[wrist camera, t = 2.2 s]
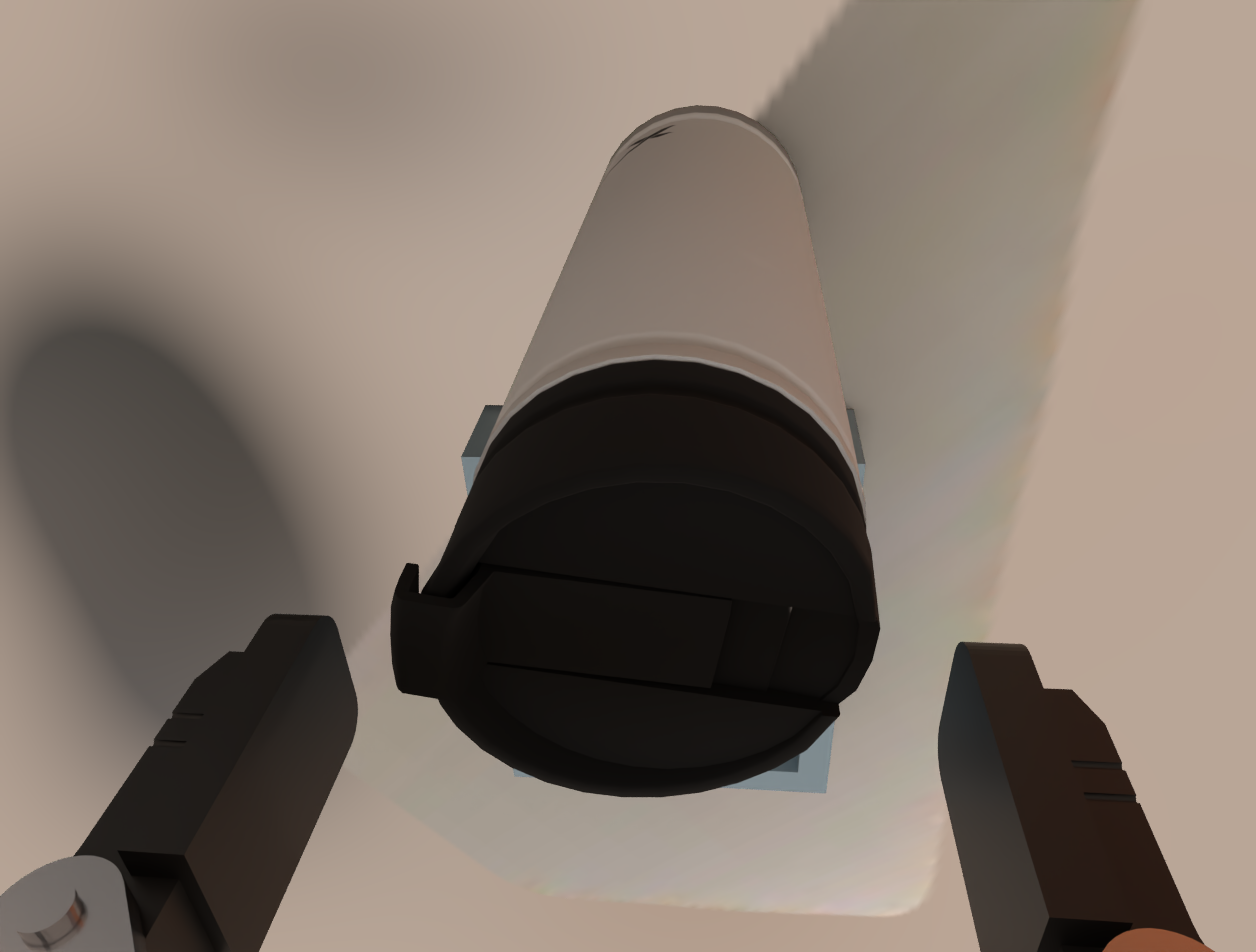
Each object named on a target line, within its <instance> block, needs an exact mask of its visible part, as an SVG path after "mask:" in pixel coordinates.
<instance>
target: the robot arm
mask: <svg viewBox="0 0 1256 952" xmlns="http://www.w3.org/2000/svg"><path fill="white" fill-rule="evenodd" d="M172 713H173V716H172V718H171V719H168V720H167V721H166V722H165V724H164V725H163V727H162V728H161V730H160V731H159V733H158V734H157V736H156V737H155V739H154V745H153V746H149V747H148V749H147V750H146V752H145V753H144V755H143V756H142V758H141V759H140V760H139V762H138V763H137V765H136V766H135V768H134V769H133V771H132V772H131V774H130V775H129V777H128V778H127V780H126V781H125V783H124V784H123V786H122V787H121V788H120V790H119V791H118V793H117V794H116V796H115V797H114V799H113V800H112V802H111V803H110V804H109V806H108V807H107V809H106V810H105V812H104V813H103V815H102V816H101V818H100V819H99V821H98V822H97V824H96V825H95V827H94V828H93V829H92V831H91V832H90V834H89V836H88V837H87V838H86V840H85V841H84V843H83V844H82V846H81V847H80V848H79V850H78V851H77V852H76V853H75V855H74V856H73V857H68V858H64V859H60V860H57V861H54V862H52V863H49V864H46V865H44V866H42V867H40V868H39V869H36V870H34V871H33V872H31V873H29V874H28V875H26V876H25V877H23V878H21V879H20V880H19V881H17V882H16V883H15V884H14V885H12V886H11V887H10V888H9V889H7V890H6V891H5V892H4V893H3V894H2V895H1V896H0V952H259V950H260V948H261V945H262V943H263V941H264V939H265V936H266V934H267V932H268V930H269V928H270V925H271V923H272V921H273V918H274V916H275V914H276V912H277V910H278V908H279V905H280V903H281V901H282V899H283V896H284V894H285V892H286V889H287V887H288V885H289V883H290V881H291V878H292V876H293V874H294V872H295V870H296V867H297V865H298V863H299V861H300V858H301V856H302V854H303V852H304V849H305V847H306V845H307V843H308V841H309V838H310V836H311V834H312V831H313V829H314V827H315V825H316V823H317V820H318V818H319V816H320V813H321V811H322V809H323V807H324V805H325V803H326V800H327V798H328V796H329V794H330V791H331V789H332V787H333V785H334V782H335V780H336V778H337V775H338V773H339V771H340V769H341V767H342V765H343V762H344V760H345V758H346V756H347V753H348V751H349V749H350V747H351V744H352V742H353V738H354V735H355V731H356V725H357V717H358V704H357V697H356V692H355V689H354V685H353V682H352V678H351V675H350V671H349V668H348V664H347V660H346V657H345V653H344V650H343V646H342V643H341V639H340V636H339V632H338V628H337V626H336V623H335V621H334V620H333V619H332V618H331V617H330V616H322V615H296V614H295V615H294V614H272V615H270V616H269V617H268V618H266V619H265V621H264V622H263V623H262V625H261V626H260V628H259V629H258V631H257V633H256V634H255V636H254V637H253V639H252V641H251V642H250V643H249V645H248V647H247V648H246V650H245V651H244V652H231V651H229V652H228V653H227V654H225V655H224V656H223V657H222V658H220V659H219V660H218V661H217V662H216V663H214V664H213V665H212V666H211V667H209V668H208V669H207V670H206V671H204V672H203V673H202V674H201V675H200V676H199V677H197V678H196V679H195V680H194V681H193V683H192V684H191V686H190V687H189V689H188V690H187V692H186V693H185V694H184V696H183V698H182V699H181V700H180V702H179V704H178V705H177V706H176V708H175V709H174V711H173V712H172ZM938 759H939V769H940V776H941V781H942V785H943V789H944V794H945V798H946V802H947V807H948V811H949V816H950V820H951V824H952V829H953V833H954V837H955V842H956V846H957V850H958V855H959V859H960V864H961V868H962V872H963V877H964V881H965V885H966V890H967V894H968V899H969V902H970V907H971V911H972V916H973V920H974V925H975V929H976V933H977V938H978V942H979V946H980V951H981V952H1215V951H1213V950H1212V949H1210V948H1209V947H1207V946H1206V945H1204V943H1203V942H1202V940H1201V939H1200V937H1199V935H1198V933H1197V931H1196V929H1195V927H1194V926H1193V923H1192V921H1191V919H1190V917H1189V914H1188V912H1187V910H1186V908H1185V905H1184V903H1183V901H1182V899H1181V896H1180V894H1179V892H1178V889H1177V887H1176V885H1175V883H1174V880H1173V878H1172V876H1171V873H1170V871H1169V869H1168V866H1167V864H1166V862H1165V860H1164V858H1163V855H1162V853H1161V851H1160V848H1159V846H1158V844H1157V841H1156V839H1155V837H1154V835H1153V832H1152V830H1151V828H1150V826H1149V823H1148V821H1147V819H1146V816H1145V814H1144V812H1143V810H1142V807H1141V805H1140V803H1137V802H1136V794H1135V791H1134V789H1133V787H1132V785H1131V782H1130V780H1129V778H1128V775H1127V773H1126V771H1124V770H1122V762H1121V759H1120V757H1119V755H1118V753H1117V750H1116V748H1115V746H1114V744H1113V741H1112V739H1111V737H1110V735H1109V732H1108V730H1107V728H1106V725H1105V724H1104V723H1103V721H1101V719H1100V718H1099V717H1098V716H1097V715H1096V714H1095V713H1094V712H1093V711H1092V710H1091V709H1090V708H1089V707H1088V706H1087V705H1086V704H1085V703H1084V702H1083V701H1082V700H1081V699H1080V698H1079V697H1078V695H1077V694H1076V693H1075V692H1074V691H1073V690H1067V689H1044V688H1043V686H1042V683H1041V681H1040V678H1039V675H1038V673H1037V670H1036V668H1035V665H1034V662H1033V660H1032V657H1031V655H1030V652H1029V651H1028V649H1027V647H1026V646H1024V645H1022V644H1003V643H978V642H960V643H959V644H958V645H957V647H956V650H955V653H954V658H953V663H952V668H951V672H950V677H949V682H948V687H947V692H946V696H945V701H944V706H943V711H942V716H941V720H940V726H939V733H938Z"/></svg>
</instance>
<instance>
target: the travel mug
mask: <svg viewBox="0 0 1256 952" xmlns="http://www.w3.org/2000/svg"><path fill="white" fill-rule="evenodd" d="M879 632H880V623H879V614H878V605H877V596H876V588H875V579H874V570H873V561H872V553H871V548H870V544H869V541H868V537H867V534H866V506H865V498H864V493H863V489H862V485H861V482H860V478H859V469H858V464H857V459H856V455H855V450H854V445H853V440H852V435H851V430H850V425H849V420H848V416H847V411H846V406H845V401H844V396H843V391H842V386H841V382H840V377H839V372H838V367H837V362H836V357H835V352H834V348H833V343H832V338H831V333H830V328H829V323H828V318H827V313H826V309H825V304H824V299H823V294H822V289H821V284H820V279H819V275H818V270H817V265H816V260H815V255H814V250H813V245H812V241H811V236H810V231H809V226H808V221H807V216H806V211H805V206H804V203H803V197H802V192H801V188H800V184H799V180H798V176H797V173H796V169H795V167H794V165H793V163H792V161H791V159H790V157H789V156H788V154H787V152H786V150H785V149H784V148H783V146H782V145H781V144H780V143H779V142H778V140H777V139H776V138H775V137H774V135H773V134H771V133H770V132H769V131H768V130H767V129H765V128H764V127H763V126H762V125H760V124H759V123H758V122H756V121H755V120H753V119H751V118H749V117H747V116H745V115H743V114H741V113H739V112H736V111H732V110H728V109H725V108H721V107H716V106H698V105H696V106H689V107H683V108H677V109H673V110H670V111H668V112H665V113H662V114H660V115H657V116H655V117H653V118H652V119H650V120H648V121H647V122H645V123H644V124H642V125H640V126H639V127H638V128H636V129H635V130H634V131H633V132H632V133H631V134H630V135H629V136H628V137H627V138H626V139H625V140H624V141H623V142H622V143H621V145H620V146H619V148H618V149H617V151H616V152H615V153H614V155H613V156H612V158H611V160H610V162H609V164H608V166H607V169H606V171H605V173H604V176H603V178H602V180H601V182H600V185H599V187H598V190H597V192H596V194H595V196H594V199H593V201H592V203H591V205H590V208H589V210H588V212H587V214H586V217H585V219H584V221H583V224H582V226H581V228H580V231H579V233H578V235H577V237H576V240H575V242H574V244H573V247H572V249H571V251H570V254H569V256H568V258H567V260H566V263H565V265H564V267H563V270H562V272H561V274H560V276H559V279H558V281H557V283H556V286H555V288H554V290H553V293H552V295H551V297H550V299H549V302H548V304H547V306H546V308H545V311H544V313H543V315H542V318H541V320H540V322H539V325H538V327H537V329H536V331H535V334H534V336H533V338H532V341H531V343H530V345H529V348H528V350H527V352H526V354H525V357H524V359H523V361H522V364H521V366H520V368H519V370H518V373H517V375H516V377H515V380H514V382H513V384H512V386H511V389H510V391H509V393H508V396H507V398H506V400H505V402H504V405H503V407H502V409H501V412H500V414H499V416H498V419H497V421H496V423H495V426H494V428H493V430H492V432H491V435H490V437H489V439H488V441H487V444H486V446H485V448H484V451H483V453H482V455H481V458H480V460H479V462H478V465H477V467H476V469H475V473H474V479H473V485H472V488H471V490H470V493H469V495H468V497H467V500H466V502H465V504H464V506H463V509H462V511H461V513H460V516H459V518H458V520H457V523H456V525H455V528H454V531H453V533H452V536H451V538H450V540H449V543H448V545H447V547H446V550H445V552H444V554H443V556H442V559H441V561H440V563H439V565H438V566H437V568H436V569H435V571H434V573H433V574H432V576H431V577H430V579H429V580H428V582H427V583H426V585H425V586H424V588H423V590H422V592H421V594H420V593H419V566H418V564H411V563H407V564H406V566H405V568H404V570H403V572H402V574H401V576H400V578H399V580H398V584H397V586H396V588H395V592H394V596H393V600H392V604H391V632H390V637H391V653H392V665H393V670H394V675H395V680H396V685H397V688H398V689H399V690H400V691H401V692H402V693H406V694H412V695H418V696H424V697H430V698H436V699H438V700H439V702H440V705H441V706H442V707H443V709H444V710H445V712H446V713H447V714H448V716H449V717H450V718H451V720H452V721H453V722H454V724H455V725H456V726H457V727H458V728H459V729H460V730H461V731H462V732H463V733H464V734H466V735H467V736H468V737H469V738H470V739H471V740H472V741H473V742H474V743H476V744H477V745H478V746H479V747H480V748H481V749H482V750H484V751H486V752H487V753H489V754H490V755H492V756H494V757H495V758H497V759H499V760H500V761H502V762H503V763H505V764H507V765H508V766H510V767H511V768H513V769H516V770H518V771H521V772H523V773H525V774H528V775H530V776H533V777H535V778H537V779H540V780H542V781H544V782H547V783H551V784H554V785H558V786H562V787H566V788H570V789H574V790H577V791H581V792H586V793H594V794H602V795H610V796H618V797H667V796H675V795H683V794H692V793H700V792H704V791H708V790H712V789H716V788H720V787H724V786H728V785H732V784H736V783H739V782H742V781H745V780H747V779H750V778H752V777H755V776H757V775H760V774H762V773H765V772H767V771H770V770H772V769H775V768H776V767H778V766H780V765H782V764H783V763H785V762H787V761H789V760H790V759H792V758H794V757H796V756H797V755H799V754H801V753H803V752H805V751H806V750H808V748H809V747H810V746H811V745H812V744H813V743H814V742H815V741H816V740H817V739H818V738H819V737H820V736H821V735H822V734H823V733H824V732H825V731H826V729H827V728H828V727H829V726H830V725H831V724H832V723H833V722H834V721H835V720H836V719H837V718H838V717H839V716H840V710H839V703H840V702H842V701H843V700H844V699H846V698H847V697H848V696H849V695H851V694H852V693H853V692H855V691H856V690H857V688H858V686H859V684H860V683H861V681H862V679H863V677H864V675H865V673H866V671H867V670H868V668H869V666H870V664H871V662H872V660H873V656H874V652H875V648H876V644H877V640H878V636H879Z"/></svg>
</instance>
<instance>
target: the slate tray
mask: <svg viewBox="0 0 1256 952" xmlns="http://www.w3.org/2000/svg"><path fill="white" fill-rule="evenodd" d="M502 407H503V406H502V405H501V406H500V405H485V407H484V410H483V412H482V414H481V416H480V418H479V421H478V423H477V425H476V427H475V429H474V431H473V433H472V435H471V437H470V440H469V441H468V444H467V446H466V448H465V450H464V452H463V454H462V456H461V458H462V464H463V470H464V476H465V482H466V488H467V494H468V495H469V493H470V490H471V488H472V485H473V479H474V473H475V469H476V467H477V465H478V462H479V460H480V458H481V455H482V453H483V451H484V448H485V446H486V444H487V441H488V439H489V437H490V435H491V432H492V430H493V428H494V426H495V423H496V421H497V419H498V416H499V414H500V412H501V409H502ZM846 411H847V416H848V420H849V425H850V430H851V435H852V440H853V445H854V450H855V455H856V459H857V464H858V469H859V478H860V482H861V485H862V489H863V480H864V472H865V459H864V455H863V450H862V446H861V441H860V437H859V432H858V428H857V423H856V418H855V414H854V409H846ZM834 722H835V721H834ZM834 722H833V723H832V724H831V725H830V726H829V727H828V728H827V729H826V731H825V732H824V733H823V734H822V735H821V736H820V737H819V738H818V739H817V740H816V741H815V742H814V743H813V744H812V745H811V746H810V747H809V748H808V750H806V751H805V752H803V753H801V754H799V755H797V756H796V757H794V758H792V759H790V760H789V761H787V762H785V763H783V764H782V765H780V766H778V767H776V768H775V769H772V770H770V771H767V772H765V773H762V774H760V775H757V776H755V777H752V778H750V779H747V780H745V781H742V782H739V783H736V784H732V785H728V786H724V787H720V788H737V789H756V790H774V791H792V792H811V793H826V789H827V781H828V772H829V764H830V756H831V747H832V739H833V731H834ZM513 771H514V776H518V777H533V776H530V775H528V774H525V773H523V772H521V771H518V770H516V769H513Z"/></svg>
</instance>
